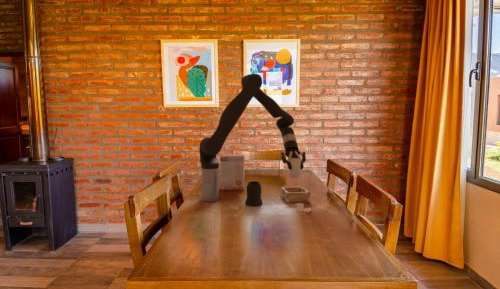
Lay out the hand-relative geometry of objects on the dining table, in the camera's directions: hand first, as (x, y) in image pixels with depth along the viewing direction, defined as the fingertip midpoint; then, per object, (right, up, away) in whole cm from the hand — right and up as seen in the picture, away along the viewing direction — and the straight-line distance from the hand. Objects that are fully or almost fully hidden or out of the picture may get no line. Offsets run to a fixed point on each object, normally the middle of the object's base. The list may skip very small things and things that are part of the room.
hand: (296, 168), depth 169 cm
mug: (-22, -18, -3) cm, 29 cm away
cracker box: (-35, -15, +25) cm, 45 cm away
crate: (0, -17, +3) cm, 17 cm away
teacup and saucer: (+1, -20, -19) cm, 28 cm away
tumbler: (0, -4, +2) cm, 5 cm away
